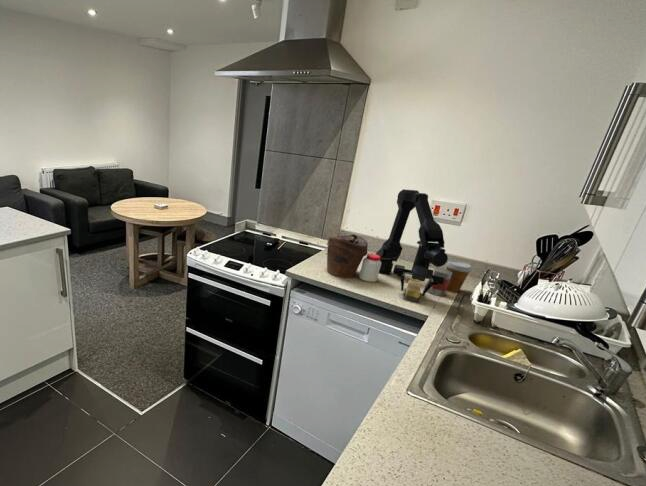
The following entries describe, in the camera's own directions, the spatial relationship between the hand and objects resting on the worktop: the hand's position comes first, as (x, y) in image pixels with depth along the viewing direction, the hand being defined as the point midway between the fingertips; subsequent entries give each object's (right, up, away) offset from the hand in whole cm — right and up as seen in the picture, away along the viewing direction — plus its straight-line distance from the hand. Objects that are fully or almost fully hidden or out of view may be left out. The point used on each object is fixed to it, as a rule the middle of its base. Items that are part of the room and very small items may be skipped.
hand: (412, 293), depth 163 cm
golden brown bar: (0, -1, 0) cm, 1 cm away
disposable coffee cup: (+23, +1, +11) cm, 25 cm away
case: (-23, +9, +20) cm, 32 cm away
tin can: (+13, 0, +6) cm, 15 cm away
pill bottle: (-12, +6, +15) cm, 21 cm away
